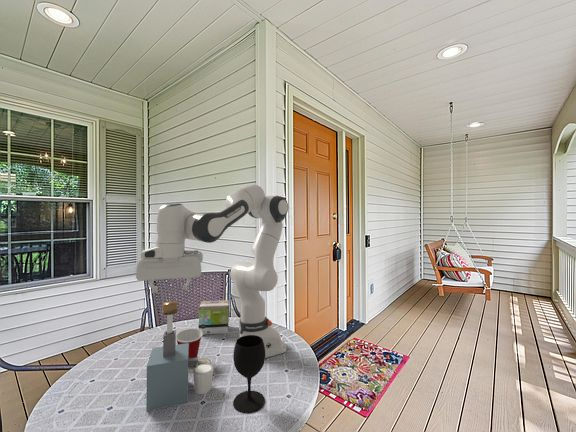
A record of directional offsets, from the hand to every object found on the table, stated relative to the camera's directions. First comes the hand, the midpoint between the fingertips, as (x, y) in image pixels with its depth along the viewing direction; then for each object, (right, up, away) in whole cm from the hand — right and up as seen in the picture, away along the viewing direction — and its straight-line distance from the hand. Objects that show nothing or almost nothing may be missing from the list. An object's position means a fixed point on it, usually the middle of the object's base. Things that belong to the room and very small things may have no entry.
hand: (170, 291), depth 90 cm
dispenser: (+1, -35, 0) cm, 35 cm away
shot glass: (+10, -35, +4) cm, 37 cm away
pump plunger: (0, -15, 0) cm, 15 cm away
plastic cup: (-1, -35, +20) cm, 40 cm away
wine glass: (+27, -35, -3) cm, 45 cm away
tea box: (+1, -35, +51) cm, 62 cm away
